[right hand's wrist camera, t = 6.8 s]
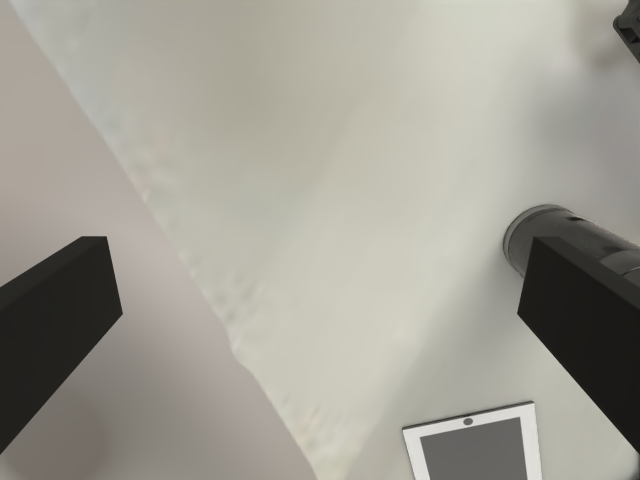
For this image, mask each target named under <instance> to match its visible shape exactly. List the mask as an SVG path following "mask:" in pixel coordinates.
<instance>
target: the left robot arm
mask: <svg viewBox="0 0 640 480" xmlns="http://www.w3.org/2000/svg"><path fill="white" fill-rule="evenodd" d="M613 27H614V29H615V30H616V32H617V33H618V34H619V36H620V37H621V38H622V40H623V41H624V43H625V44H626V45H627V47H628V48H629V49H630V51H631V52H632V53H633V55H634V56H635V57H636V59H637V60H638V62H639V63H640V0H629V1H628V5H627V7H626V9H625V10H624V12H623V13H622V15H619V16H617V17H616V18H615V20H614V22H613ZM585 219H586V220H585ZM587 220H589V221H592V222H595V221H593V220H590V219H587V218H584V217H581V216H578V215H575V214H573V213H572V212H570V211H569V210H567V209H565V208H562V207H560V206H556V205H542V206H538V207H534V208H532V209H529V210H528V211H526V212H524V213H523V214H521V215H520V216H519V217H518V218H517V219H515V221H514V222H513V223H512V224H511V226H510V227H509V229H508V231H507V233H506V235H505V239H504V253H505V256H506V259H507V260H508V262H509V263H510V264H511V265H512V266H513V267H514V268H515V269H516V270H517V271H518V272H520V273H521V276H522V278H523V279H525V274H526V269H527V265H528V260H529V255H530V250H531V245H532V241H533V236H558V237H560V238H562V239H563V240H565V241H566V242H568V243H570V244H571V245H573V246H574V247H576V248H578V249H579V250H581V251H582V252H584V253H586V254H587V255H589V256H590V257H592V258H594V259H595V260H597V261H598V262H600V263H602V264H603V265H605V266H606V267H608V268H610V269H611V270H613V271H614V272H616V273H618V274H619V275H621V276H623V277H624V278H626V279H627V280H629V281H631V282H632V283H634V284H635V285H637V286H639V287H640V247H639V246H637V245H635V244H633V243H631V242H629V241H627V240H625V239H623V238H621V237H619V236H617V235H615V234H613V233H611V232H609V231H607V230H605V229H603V228H601V227H599V226H597V225H595V224H593V223H591V222H589V221H587ZM595 223H597V222H595ZM598 224H599V223H598Z"/></svg>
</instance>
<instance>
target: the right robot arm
mask: <svg viewBox="0 0 640 480" xmlns="http://www.w3.org/2000/svg"><path fill="white" fill-rule="evenodd" d="M122 314H123V312H122V308H121V303H120V298H119V293H118V289H117V284H116V279H115V274H114V269H113V265H112V260H111V255H110V250H109V245H108V241H107V237H106V236H82V237H80V238H78V239H77V240H75V241H74V242H72V243H70V244H69V245H67V246H66V247H64V248H62V249H61V250H59V251H58V252H56V253H54V254H53V255H51V256H50V257H48V258H46V259H45V260H43V261H42V262H40V263H38V264H37V265H35V266H34V267H32V268H30V269H29V270H27V271H26V272H24V273H22V274H21V275H19V276H17V277H16V278H14V279H13V280H11V281H10V282H8V283H6V284H5V285H3V286H1V287H0V454H1V453H2V452H3V451H4V450H5V449H6V447H7V446H8V445H9V444H10V443H11V442H12V440H13V439H14V438H15V437H16V436H17V435H18V434H19V433H20V431H21V430H22V429H23V428H24V427H25V426H26V425H27V423H28V422H29V421H30V420H31V419H32V418H33V416H34V415H35V414H36V413H37V412H38V411H39V410H40V408H41V407H42V406H43V405H44V404H45V403H46V402H47V400H48V399H49V398H50V397H51V396H52V395H53V393H54V392H55V391H56V390H57V389H58V388H59V387H60V385H61V384H62V383H63V382H64V381H65V380H66V379H67V377H68V376H69V375H70V374H71V373H72V372H73V371H74V369H75V368H76V367H77V366H78V365H79V364H80V362H81V361H82V360H83V359H84V358H85V357H86V356H87V354H88V353H89V352H90V351H91V350H92V349H93V348H94V346H95V345H96V344H97V343H98V342H99V341H100V340H101V338H102V337H103V336H104V335H105V334H106V333H107V331H108V330H109V329H110V328H111V327H112V326H113V325H114V323H115V322H116V321H117V320H118V319H119V318H120V317H121V315H122ZM517 314H518V315H519V317H520V318H521V319H522V320H523V321H524V322H525V323H526V325H527V326H528V327H529V328H530V329H531V330H532V332H533V333H534V334H535V335H536V336H537V337H538V338H539V340H540V341H541V342H542V343H543V344H544V345H545V346H546V348H547V349H548V350H549V351H550V352H551V353H552V354H553V356H554V357H555V358H556V359H557V360H558V361H559V363H560V364H561V365H562V366H563V367H564V368H565V369H566V371H567V372H568V373H569V374H570V375H571V376H572V377H573V379H574V380H575V381H576V382H577V383H578V384H579V385H580V387H581V388H582V389H583V390H584V391H585V392H586V394H587V395H588V396H589V397H590V398H591V399H592V400H593V402H594V403H595V404H596V405H597V406H598V407H599V408H600V410H601V411H602V412H603V413H604V414H605V415H606V416H607V418H608V419H609V420H610V421H611V422H612V423H613V425H614V426H615V427H616V428H617V429H618V430H619V431H620V433H621V434H622V435H623V436H624V437H625V438H626V439H627V441H628V442H629V443H630V444H631V445H632V446H633V447H634V449H635V450H636V451H637V452H638V453H639V454H640V287H639V286H637V285H635V284H634V283H632V282H631V281H629V280H627V279H626V278H624V277H623V276H621V275H619V274H618V273H616V272H614V271H613V270H611V269H610V268H608V267H606V266H605V265H603V264H602V263H600V262H598V261H597V260H595V259H594V258H592V257H590V256H589V255H587V254H586V253H584V252H582V251H581V250H579V249H578V248H576V247H574V246H573V245H571V244H570V243H568V242H566V241H565V240H563V239H562V238H560V237H558V236H533V241H532V245H531V250H530V255H529V260H528V265H527V269H526V274H525V279H524V284H523V288H522V293H521V298H520V303H519V308H518V312H517Z"/></svg>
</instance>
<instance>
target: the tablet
mask: <svg viewBox="0 0 640 480" xmlns="http://www.w3.org/2000/svg"><path fill="white" fill-rule="evenodd" d="M402 430H403V434H404V438H405V442H406V445H407V449H408V453H409V457H410V461H411V464H412V468H413V472H414V476H415V479H416V480H542V474H541V464H540V455H539V445H538V435H537V426H536V416H535V406H534V402H533V401H532V402H528V403H523V404H518V405H513V406H508V407H503V408H499V409H494V410H489V411H484V412H479V413H474V414H469V415H465V416H460V417H455V418H450V419H445V420H440V421H436V422H431V423H426V424H421V425H416V426H411V427H406V428H402Z"/></svg>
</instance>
